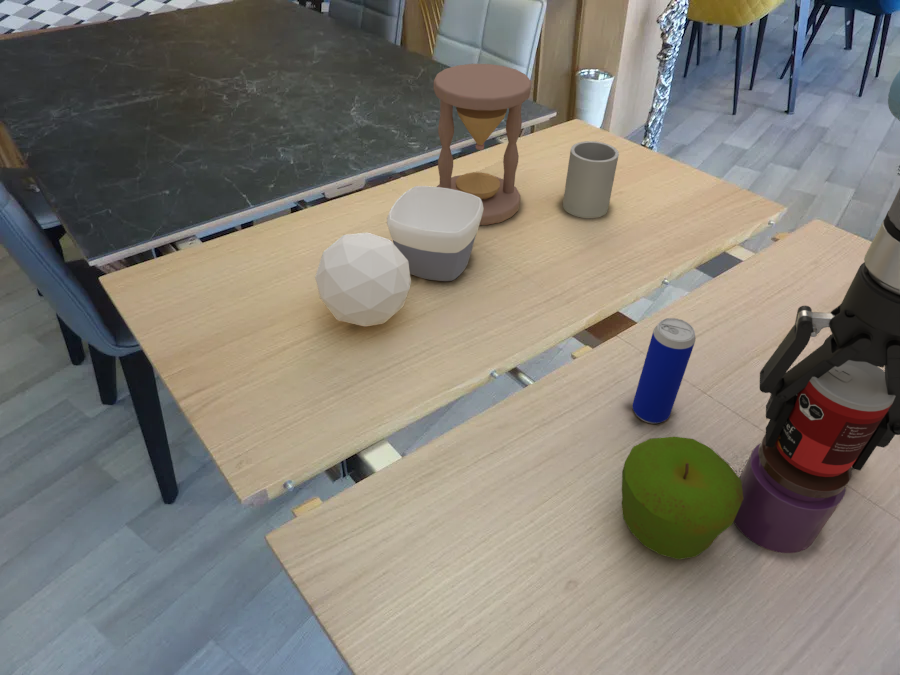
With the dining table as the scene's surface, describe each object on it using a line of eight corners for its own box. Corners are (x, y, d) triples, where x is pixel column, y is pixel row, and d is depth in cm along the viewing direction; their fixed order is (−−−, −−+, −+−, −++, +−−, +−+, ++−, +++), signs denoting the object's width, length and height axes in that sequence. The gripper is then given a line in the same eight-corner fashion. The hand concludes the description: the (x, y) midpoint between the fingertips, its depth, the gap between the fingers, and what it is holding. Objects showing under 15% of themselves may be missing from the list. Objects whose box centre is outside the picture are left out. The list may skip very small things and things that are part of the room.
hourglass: (517, 183, 142) (528, 64, 126) (522, 227, 129) (535, 99, 113) (435, 181, 142) (435, 61, 126) (431, 224, 129) (431, 96, 113)
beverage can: (673, 407, 93) (702, 325, 84) (663, 431, 90) (691, 348, 80) (638, 393, 95) (662, 311, 86) (626, 416, 92) (649, 333, 82)
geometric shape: (388, 329, 113) (441, 265, 107) (351, 358, 99) (410, 287, 93) (325, 273, 113) (375, 206, 107) (280, 295, 100) (334, 219, 93)
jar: (814, 496, 82) (852, 436, 75) (818, 565, 75) (860, 506, 68) (730, 472, 85) (758, 412, 78) (726, 537, 78) (757, 477, 70)
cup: (608, 220, 132) (619, 164, 124) (562, 215, 133) (570, 159, 125) (607, 198, 138) (617, 143, 131) (563, 193, 139) (571, 139, 132)
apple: (594, 536, 77) (611, 476, 70) (634, 467, 85) (653, 406, 78) (700, 593, 72) (730, 535, 65) (732, 514, 80) (762, 454, 73)
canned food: (779, 413, 76) (814, 341, 69) (855, 441, 73) (900, 369, 66) (765, 458, 71) (802, 385, 64) (846, 491, 68) (894, 418, 61)
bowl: (463, 296, 112) (465, 239, 105) (379, 277, 116) (375, 221, 108) (488, 248, 123) (492, 194, 116) (411, 233, 127) (410, 180, 119)
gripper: (780, 275, 57) (709, 447, 72) (1065, 331, 52) (924, 505, 67) (780, 231, 62) (713, 400, 77) (1037, 278, 57) (913, 450, 72)
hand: (811, 448), depth 72 cm, fingers closed on canned food, 8 cm apart
